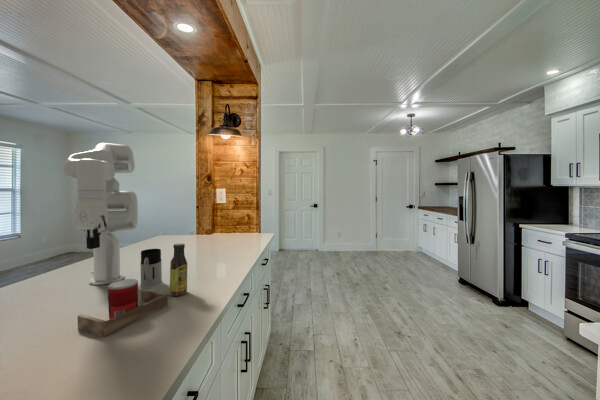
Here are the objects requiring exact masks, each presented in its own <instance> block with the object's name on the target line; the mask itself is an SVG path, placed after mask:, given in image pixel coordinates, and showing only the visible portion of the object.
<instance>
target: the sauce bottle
mask: <svg viewBox="0 0 600 400" xmlns="http://www.w3.org/2000/svg"><path fill="white" fill-rule="evenodd" d="M185 245H186V244H185V243H184V242H183V243H182V242H181V243H174V244H173V257H172V259H171V260H170V268H169V291H170V296H171V297H179V296H183V295H185V294H186V293H187V291H188V261H187V259H186V256H185V248H186V247H185Z"/></svg>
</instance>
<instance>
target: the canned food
mask: <svg viewBox="0 0 600 400" xmlns="http://www.w3.org/2000/svg"><path fill="white" fill-rule="evenodd" d="M107 297H108V298H107V300H108V301H107V302H108V320H110V319H112V318H114V317H116V316H118V315H121V314H123V313H125V312H127V311H129V310H132V309H134V308H136V307H138V306H139V280H138V279H134V278H126V279H122V280H120V281H116V282H113V283H109V284H108V286H107Z"/></svg>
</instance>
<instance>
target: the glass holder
mask: <svg viewBox="0 0 600 400" xmlns="http://www.w3.org/2000/svg"><path fill="white" fill-rule="evenodd" d="M162 274H163V273H162V249H160V248H149V249H148V248H147V249H143V250H141V251H140V284H139V288H140V287H141V288H140V289H144V288H147V289H153V288H152V287H154V288H157V287H156V286H158V287H160V286H162V285H163V284H164V283H163V279H162V276H163V275H162ZM161 284H162V285H161ZM159 285H160V286H159Z"/></svg>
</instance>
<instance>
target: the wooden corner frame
mask: <svg viewBox="0 0 600 400" xmlns="http://www.w3.org/2000/svg"><path fill="white" fill-rule="evenodd" d="M168 296H169V295H168V294H167V293H162V292H156V291H152V290H146V289H142V290H140V302H142V304H141V305H138V307H136V308H134V309H132V310H129V311H127V312H125V313H123V314H121V315H118V316H116V317H114V318H112V319H107V320H104V319H101V318H97V317H93V316H91V315H90V316H89V315H85V314H79V315H77V330H80V331H83V332H86V333H89V334H93V335H96V336H99V337H103V338H106V337H109V336H110V335H112V334H115V333H117V332H118V331H120V330H122V329H124V328H126V327H129V326H130V325H133V324H135V323H136V322H138V321H140V320H142V319H144V318H146V317H148V316H150V315H152V314H154V313H156V312H158V311H159V310H160V311H161V310H162V309H163V308H165V307H168V306H169V304H168V302H169V301H168V300H169V297H168Z"/></svg>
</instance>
